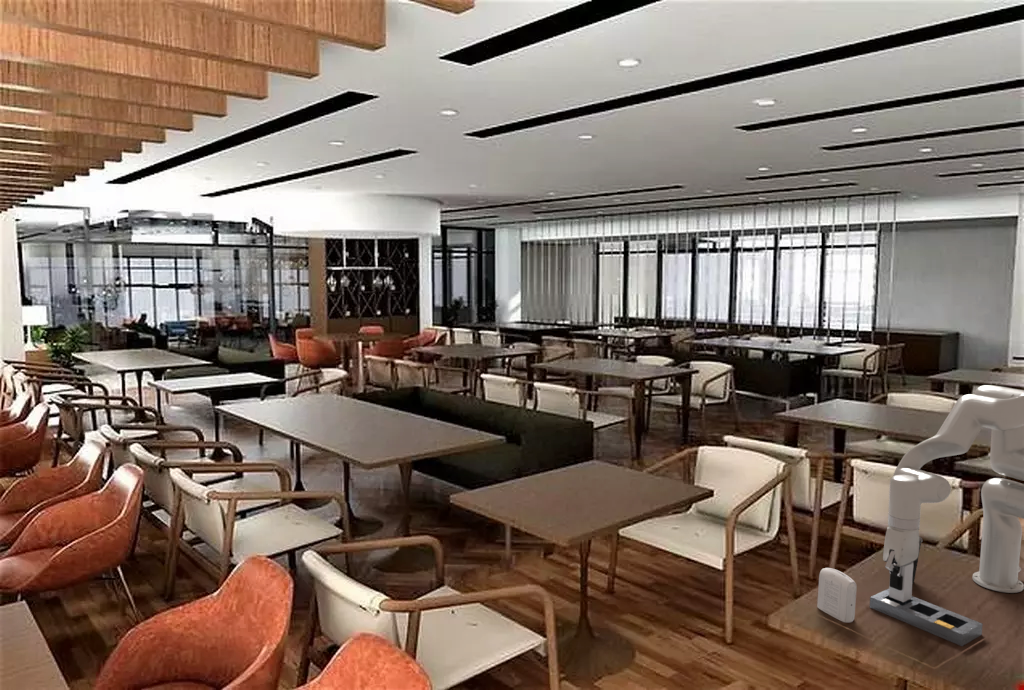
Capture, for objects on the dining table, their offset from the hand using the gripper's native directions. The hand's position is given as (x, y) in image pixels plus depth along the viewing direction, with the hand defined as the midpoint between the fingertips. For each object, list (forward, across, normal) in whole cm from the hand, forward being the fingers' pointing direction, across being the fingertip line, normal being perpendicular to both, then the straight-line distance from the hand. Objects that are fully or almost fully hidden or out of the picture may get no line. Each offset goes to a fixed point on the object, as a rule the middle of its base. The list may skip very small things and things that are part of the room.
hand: (900, 585), depth 198 cm
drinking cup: (+8, -19, -9) cm, 23 cm away
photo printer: (+7, +17, -8) cm, 20 cm away
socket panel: (+7, +1, +7) cm, 10 cm away
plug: (+3, 0, 0) cm, 3 cm away
